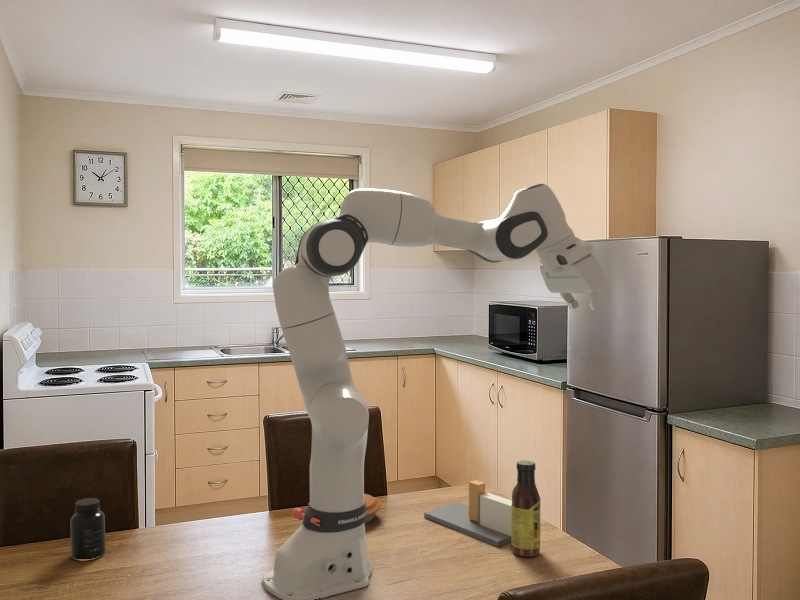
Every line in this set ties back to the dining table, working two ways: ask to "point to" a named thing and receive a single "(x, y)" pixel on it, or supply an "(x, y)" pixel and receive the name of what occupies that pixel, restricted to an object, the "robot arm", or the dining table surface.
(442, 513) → the grey base plate
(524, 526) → the sauce bottle
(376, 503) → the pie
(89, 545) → the supplement bottle
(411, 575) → the dining table surface
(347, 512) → the robot arm
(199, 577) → the dining table surface
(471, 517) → the tan wooden beam
